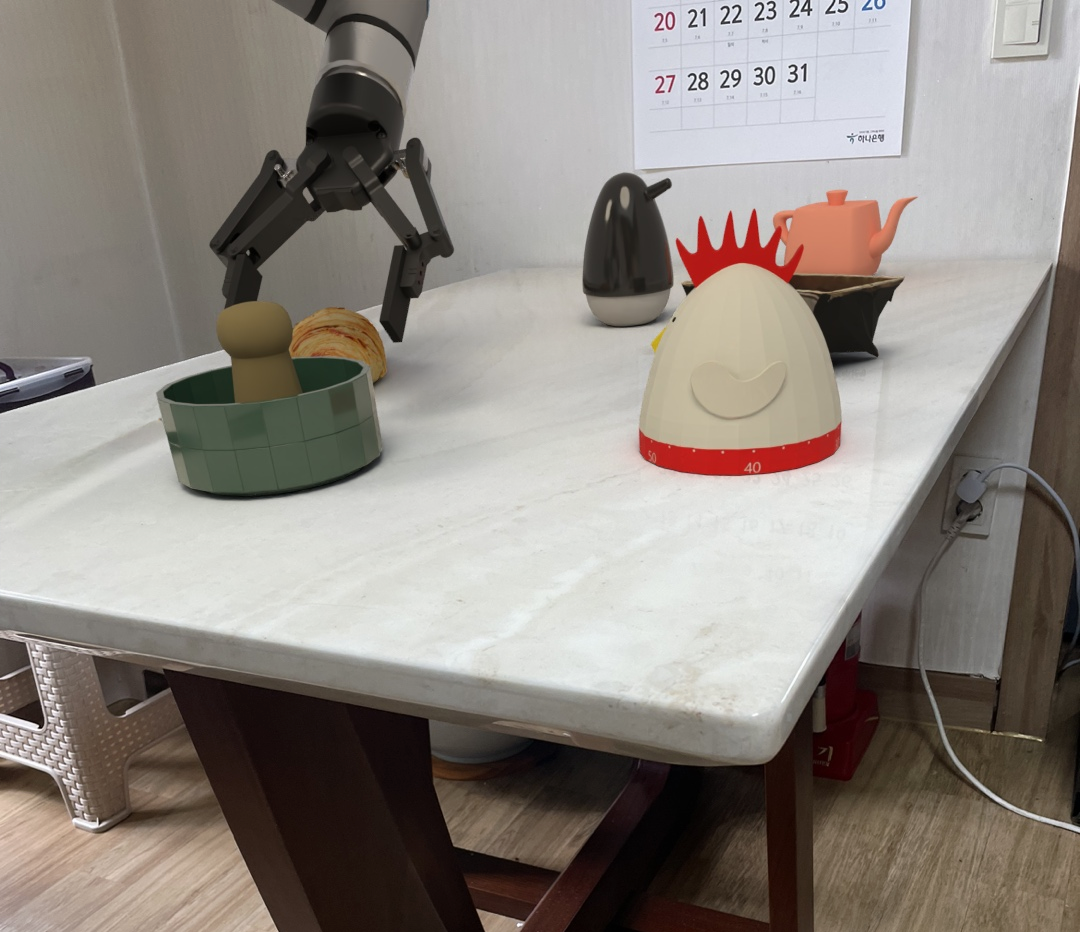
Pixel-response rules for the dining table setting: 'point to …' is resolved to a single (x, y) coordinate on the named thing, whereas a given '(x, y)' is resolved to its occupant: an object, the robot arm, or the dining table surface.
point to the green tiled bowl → (272, 429)
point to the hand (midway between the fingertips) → (310, 335)
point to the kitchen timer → (740, 367)
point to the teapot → (839, 234)
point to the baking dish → (843, 306)
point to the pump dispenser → (627, 253)
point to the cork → (259, 350)
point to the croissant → (340, 338)
